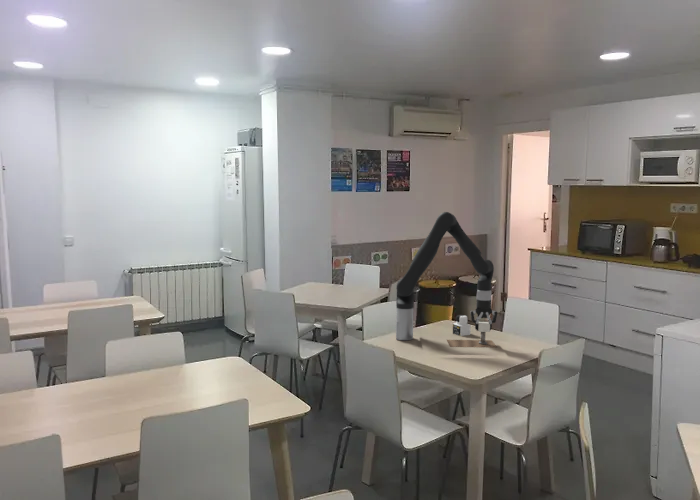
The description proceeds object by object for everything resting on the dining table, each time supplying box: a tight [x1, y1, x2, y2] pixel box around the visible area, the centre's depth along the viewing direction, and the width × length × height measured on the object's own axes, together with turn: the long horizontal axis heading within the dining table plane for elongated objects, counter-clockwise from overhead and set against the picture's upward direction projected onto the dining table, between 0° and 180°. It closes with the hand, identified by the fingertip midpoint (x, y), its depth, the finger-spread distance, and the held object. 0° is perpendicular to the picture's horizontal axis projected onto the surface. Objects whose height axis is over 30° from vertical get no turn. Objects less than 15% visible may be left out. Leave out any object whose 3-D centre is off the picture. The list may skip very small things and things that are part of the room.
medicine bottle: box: [452, 314, 472, 337], centre depth 311 cm, size 7×7×12 cm
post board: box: [446, 332, 498, 349], centre depth 291 cm, size 24×14×8 cm, turn 87°
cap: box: [477, 321, 491, 333], centre depth 290 cm, size 6×6×4 cm
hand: (483, 330), depth 290 cm, fingers closed on cap, 5 cm apart
